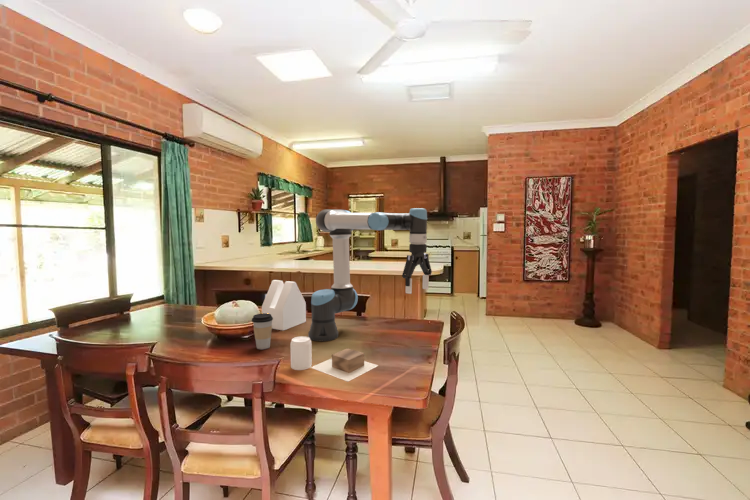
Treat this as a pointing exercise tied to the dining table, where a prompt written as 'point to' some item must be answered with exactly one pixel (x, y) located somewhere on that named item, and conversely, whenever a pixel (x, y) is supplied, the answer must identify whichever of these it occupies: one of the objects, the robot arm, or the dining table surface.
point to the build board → (328, 369)
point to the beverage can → (301, 353)
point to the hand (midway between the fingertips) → (417, 291)
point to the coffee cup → (262, 330)
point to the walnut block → (348, 360)
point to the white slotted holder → (284, 305)
